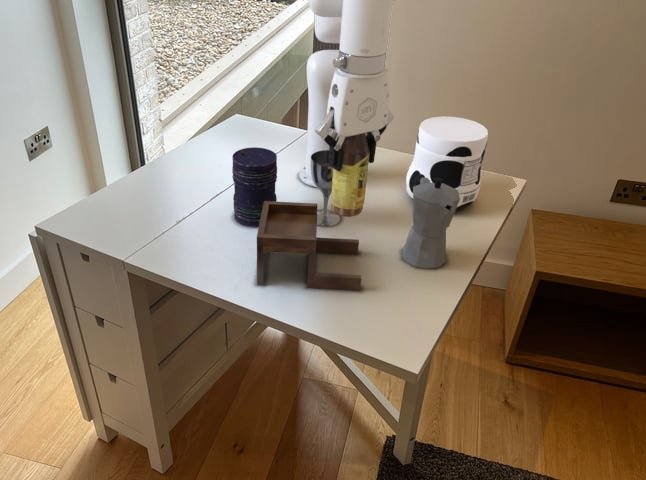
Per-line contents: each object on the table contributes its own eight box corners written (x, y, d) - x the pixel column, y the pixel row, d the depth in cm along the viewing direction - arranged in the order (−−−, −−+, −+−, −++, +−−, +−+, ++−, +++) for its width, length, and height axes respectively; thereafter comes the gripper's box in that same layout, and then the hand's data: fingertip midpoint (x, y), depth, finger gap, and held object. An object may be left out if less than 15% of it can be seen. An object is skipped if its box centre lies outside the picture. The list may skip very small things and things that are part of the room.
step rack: (357, 251, 124) (362, 205, 118) (359, 290, 113) (365, 242, 107) (263, 246, 126) (263, 200, 119) (257, 285, 115) (256, 237, 108)
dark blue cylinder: (283, 211, 138) (284, 152, 129) (265, 231, 131) (265, 169, 122) (245, 203, 141) (244, 144, 132) (226, 221, 134) (223, 160, 125)
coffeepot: (458, 271, 119) (478, 192, 108) (415, 277, 117) (431, 197, 106) (426, 233, 131) (440, 157, 120) (386, 237, 129) (397, 161, 118)
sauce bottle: (361, 220, 109) (373, 116, 96) (328, 216, 110) (335, 113, 97) (364, 203, 114) (375, 102, 101) (332, 199, 115) (339, 99, 102)
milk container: (409, 178, 152) (421, 110, 142) (478, 189, 148) (495, 120, 137) (397, 209, 139) (409, 136, 129) (472, 222, 135) (491, 148, 124)
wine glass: (345, 213, 138) (351, 153, 129) (337, 229, 132) (342, 168, 123) (312, 207, 140) (316, 148, 131) (303, 223, 134) (306, 162, 125)
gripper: (329, 76, 89) (321, 183, 100) (418, 61, 95) (402, 162, 107) (303, 63, 94) (299, 165, 105) (390, 49, 101) (377, 147, 112)
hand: (351, 163), depth 106 cm, fingers closed on sauce bottle, 6 cm apart
